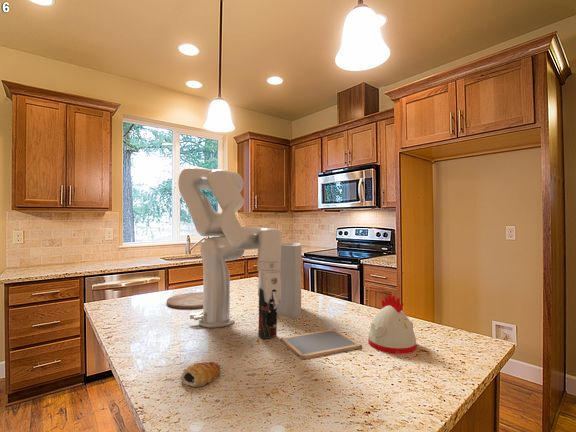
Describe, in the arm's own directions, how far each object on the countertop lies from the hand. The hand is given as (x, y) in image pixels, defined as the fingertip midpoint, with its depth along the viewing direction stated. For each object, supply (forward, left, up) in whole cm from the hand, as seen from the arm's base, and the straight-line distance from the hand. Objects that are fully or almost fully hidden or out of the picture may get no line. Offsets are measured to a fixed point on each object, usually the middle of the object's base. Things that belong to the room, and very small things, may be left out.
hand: (267, 320), depth 104 cm
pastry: (-24, -20, -5) cm, 32 cm away
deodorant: (0, 0, -5) cm, 5 cm away
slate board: (+12, -13, -5) cm, 18 cm away
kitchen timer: (+32, -22, -5) cm, 39 cm away
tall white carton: (+17, +24, -5) cm, 30 cm away
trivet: (-16, +54, -6) cm, 57 cm away
